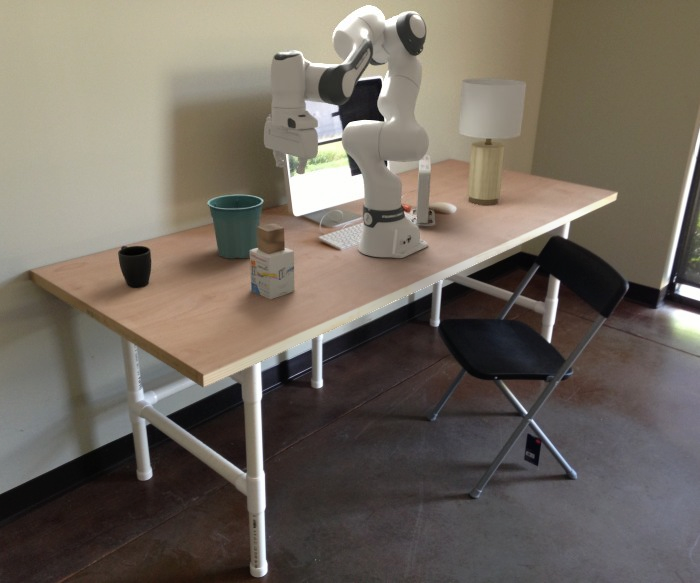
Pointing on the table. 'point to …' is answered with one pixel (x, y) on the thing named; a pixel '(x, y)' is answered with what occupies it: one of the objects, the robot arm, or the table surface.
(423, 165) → the network device
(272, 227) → the walnut block
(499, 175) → the lamp
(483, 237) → the table surface
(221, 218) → the flower pot
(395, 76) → the robot arm
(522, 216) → the table surface
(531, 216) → the table surface
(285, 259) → the ink box
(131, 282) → the mug
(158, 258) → the table surface
